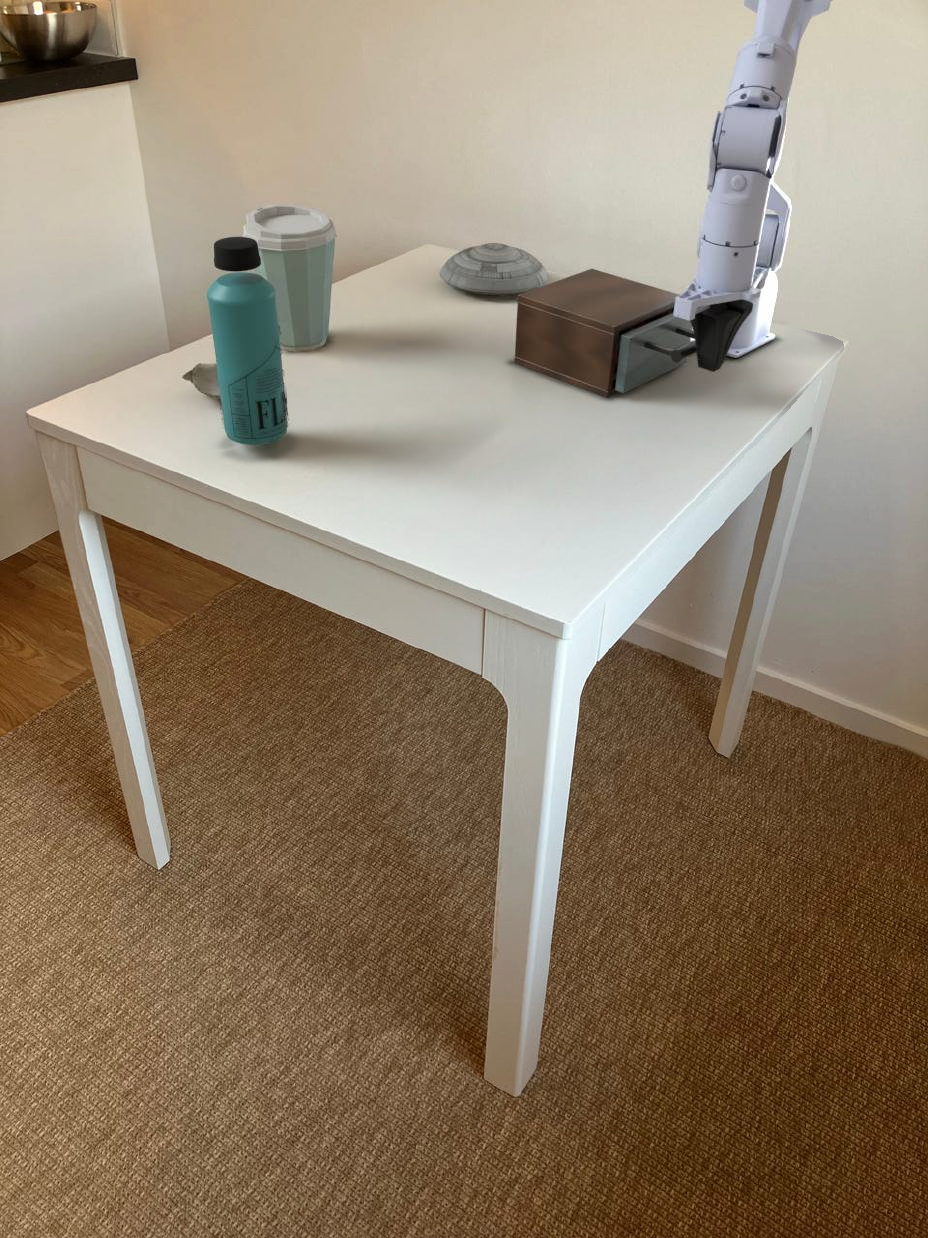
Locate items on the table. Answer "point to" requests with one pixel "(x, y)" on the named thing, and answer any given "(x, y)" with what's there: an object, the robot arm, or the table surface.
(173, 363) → the table surface
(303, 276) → the disposable coffee cup
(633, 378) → the drawer
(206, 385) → the seashell
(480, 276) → the flying saucer
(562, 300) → the cabinet
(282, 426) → the beverage bottle
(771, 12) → the robot arm
